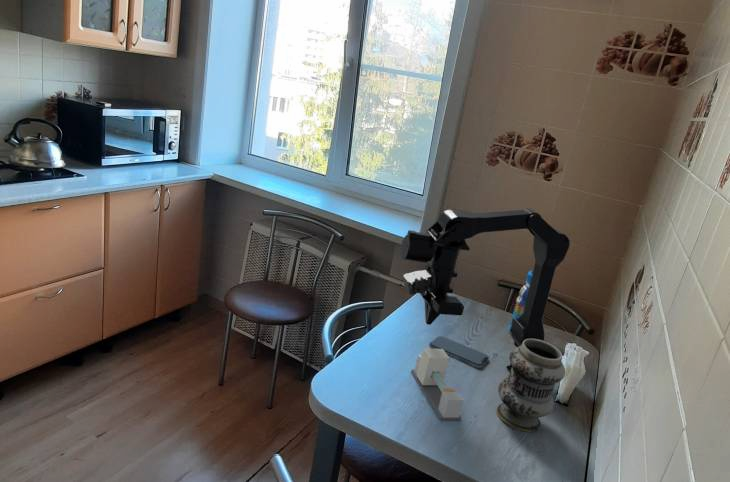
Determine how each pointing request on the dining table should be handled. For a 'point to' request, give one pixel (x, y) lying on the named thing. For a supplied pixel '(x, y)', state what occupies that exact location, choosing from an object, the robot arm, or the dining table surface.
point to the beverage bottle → (521, 299)
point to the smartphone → (460, 352)
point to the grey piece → (441, 397)
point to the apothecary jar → (530, 384)
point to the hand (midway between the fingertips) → (428, 323)
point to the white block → (432, 365)
